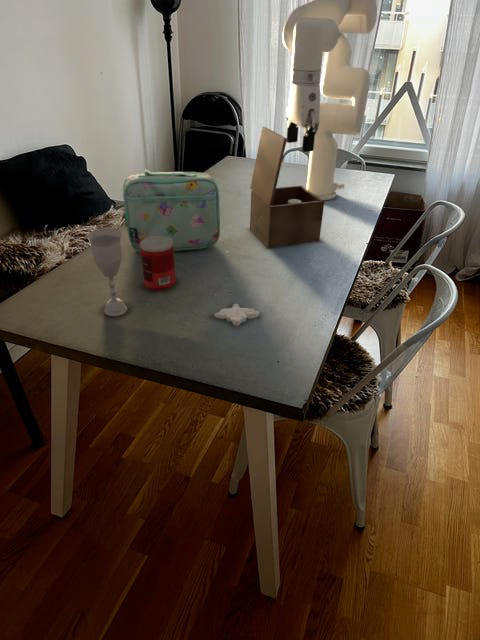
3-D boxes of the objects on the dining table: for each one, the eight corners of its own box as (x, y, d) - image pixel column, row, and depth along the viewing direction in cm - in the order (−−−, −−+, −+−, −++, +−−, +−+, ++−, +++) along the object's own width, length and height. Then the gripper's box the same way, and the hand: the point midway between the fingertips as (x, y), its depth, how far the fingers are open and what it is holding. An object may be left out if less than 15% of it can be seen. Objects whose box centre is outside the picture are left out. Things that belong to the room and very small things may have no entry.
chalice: (102, 301, 108) (90, 228, 98) (132, 301, 108) (123, 228, 98) (97, 319, 102) (84, 243, 92) (129, 318, 102) (119, 242, 92)
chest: (297, 223, 150) (301, 185, 144) (319, 241, 139) (324, 201, 132) (249, 229, 145) (251, 190, 139) (268, 248, 134) (270, 207, 127)
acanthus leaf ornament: (259, 316, 104) (259, 309, 103) (239, 329, 100) (240, 322, 99) (233, 304, 108) (233, 297, 107) (213, 316, 104) (213, 309, 103)
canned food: (180, 278, 118) (178, 238, 112) (166, 293, 112) (163, 251, 105) (153, 273, 120) (150, 233, 114) (138, 287, 114) (133, 246, 107)
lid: (265, 126, 130) (262, 126, 130) (287, 138, 118) (284, 138, 118) (252, 188, 138) (250, 188, 138) (272, 205, 127) (269, 205, 127)
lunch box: (125, 257, 127) (115, 179, 115) (125, 242, 135) (115, 167, 123) (221, 250, 132) (221, 174, 120) (215, 236, 140) (215, 163, 128)
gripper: (335, 81, 114) (326, 153, 123) (303, 72, 127) (297, 138, 137) (307, 83, 111) (301, 156, 121) (278, 73, 125) (274, 140, 135)
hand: (299, 146), depth 129 cm, fingers open, 9 cm apart
